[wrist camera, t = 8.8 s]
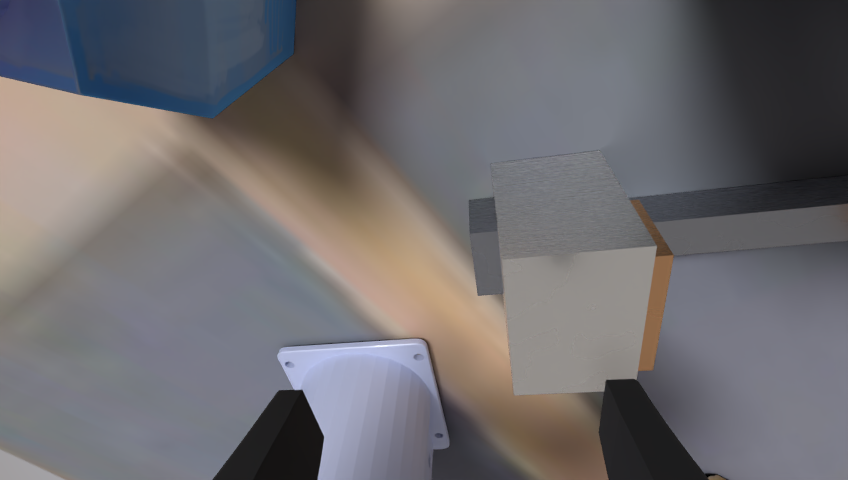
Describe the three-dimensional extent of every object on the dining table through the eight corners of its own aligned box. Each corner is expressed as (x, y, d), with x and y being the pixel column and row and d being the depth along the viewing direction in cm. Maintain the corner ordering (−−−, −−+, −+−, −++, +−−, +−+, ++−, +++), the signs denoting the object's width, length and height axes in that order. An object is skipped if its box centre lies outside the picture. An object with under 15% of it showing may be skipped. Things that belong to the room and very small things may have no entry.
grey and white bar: (1050, 238, 18) (1278, 362, 13) (479, 284, 21) (485, 396, 16) (1167, 81, 14) (1541, 167, 9) (464, 166, 17) (465, 262, 13)
